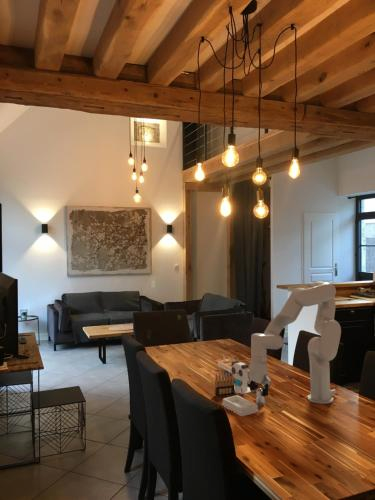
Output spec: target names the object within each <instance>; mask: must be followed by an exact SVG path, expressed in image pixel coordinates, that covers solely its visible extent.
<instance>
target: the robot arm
mask: <svg viewBox="0 0 375 500" xmlns="http://www.w3.org/2000/svg"><path fill="white" fill-rule="evenodd" d="M336 293H337V290H336V286H334V284H332V283H330V282H325V281H322V280H320V281H319V280H317V281H313V283H312V284H311V285H310V287H309V288H302V287H297V288H296V287H295V288H294V289H293V290H292V291H291V293H290V295H289V296H288V298H287V300H286V302H285V303H284V305H283V307H282V309H281V310H280V311H279V313H277V314H276V315H275V316H274V317H273V319H272V320H271V321H270V322H269V324H268V325H267V326H266V328H265V330H264V331H263V333H259V332H256V333H252V334H251V337H250V340H251V341H250V342H251V344H250V349H251V351H250V354H251V355H250V361H249V365H248V371H249V372H247V374H248V381H249V388H250V390H251V392H252V391H256V389H257V387H256V384H261V386H262V396H264V397H267V396H269V388H270V386H271V383H272V380H271V378H270V377H269V368H268V363H267V349H269V350H279V349H281V348H282V347H283V346H284V339H283V337H282V336H281V335H280V334H281V332H282V330H283V329H284V328H286V326H288V325H289V324H290V325H291V324H292V323H294V322H295V321H296V320H297V319H298V317H299V316H300V313H301V311H302V310H303V308H304V307H311V306H315V305H317V312H316V316H315V321H314V327H313V328H314V331H315V332H316V333H317V334H319V335H320V336H314V337H311V339H309V340H308V343H307V352H308V358H309V359H308V360H309V376H310V377H309V379H310V381H309V383H310V393H309V394H308V395H307V400H308V401H309V402H311V403H314V404H319V405H327V404H331V403H333V402H334V396H332V395H335V394H337V390H336V389H335V388H334V389H331V383H330V381H331V380H330V379H331V377H330V368H331V367H330V361H333V360H334V358H336V356H337V353H338V349H339V344H340V340H341V335H342V328H341V325H340V323H339V322H338V321H337V320H335V313H336V301H335V300H336V299H335V296H336Z"/></svg>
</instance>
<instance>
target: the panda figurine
mask: <svg viewBox="0 0 375 500" xmlns="http://www.w3.org/2000/svg"><path fill="white" fill-rule="evenodd" d="M230 364H231V366H232V367H231V369H230V370H231V373H232V372H233V378H234V388H235V394H239V393H240V395H241V394H242V395H244V393H245V394H248V393H251V392H252V391H251V390H250V386H248V380H249V378H248V374H247V372H249V364H247V363H244V362H239V361H238V360H234V361H233V360H232V361H231V363H230Z"/></svg>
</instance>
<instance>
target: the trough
mask: <svg viewBox="0 0 375 500" xmlns="http://www.w3.org/2000/svg"><path fill="white" fill-rule="evenodd" d="M222 405H223V406H224V407H223V406H222ZM221 406H222V407H223V408H225V409H227V410H229V411H230V410H231V412H232V411H233V413H234V414H236V415H238V416H240V417H245V416H249V415H252V414H255V413H259V409H258V405H257V404H256V403H254V402H252V401H250V400H248V399H246V398H244V397H242V396H240V395H236V394H235V395H231V396H227V397H224V398H222V403H221Z"/></svg>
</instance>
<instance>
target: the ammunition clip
mask: <svg viewBox="0 0 375 500" xmlns="http://www.w3.org/2000/svg"><path fill="white" fill-rule="evenodd" d="M214 377H215V381H214V382H215V383H214V396H215V395H216V396H220V397H226V395H228V396H236V393H235V388H234V387H235V383H234V377H233V372H232V371H231V373H230V372H228V373H227V372H225V374H224V373H223V372H222V374H221V373H218V374H217V373H215V376H214ZM216 396H215V397H216Z"/></svg>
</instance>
